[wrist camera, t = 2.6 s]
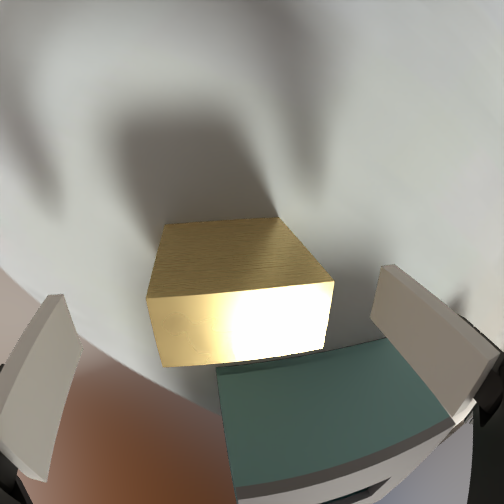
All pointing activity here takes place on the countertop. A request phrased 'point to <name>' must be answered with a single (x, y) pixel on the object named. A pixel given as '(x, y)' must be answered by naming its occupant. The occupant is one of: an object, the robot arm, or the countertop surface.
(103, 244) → the countertop surface
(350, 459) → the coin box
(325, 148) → the countertop surface
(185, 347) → the gold block
